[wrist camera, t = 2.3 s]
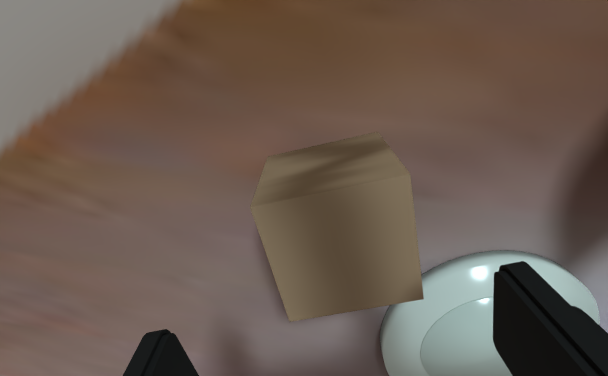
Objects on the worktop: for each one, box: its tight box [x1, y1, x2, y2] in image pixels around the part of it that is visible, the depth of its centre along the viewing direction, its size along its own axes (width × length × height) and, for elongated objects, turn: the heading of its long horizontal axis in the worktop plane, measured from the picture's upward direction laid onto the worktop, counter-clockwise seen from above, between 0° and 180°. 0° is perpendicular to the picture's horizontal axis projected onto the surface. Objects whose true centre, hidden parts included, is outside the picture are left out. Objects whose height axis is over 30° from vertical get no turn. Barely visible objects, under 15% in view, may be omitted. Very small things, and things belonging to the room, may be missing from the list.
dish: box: [380, 250, 600, 376], centre depth 22 cm, size 14×14×1 cm
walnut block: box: [250, 132, 424, 322], centre depth 16 cm, size 6×6×6 cm
